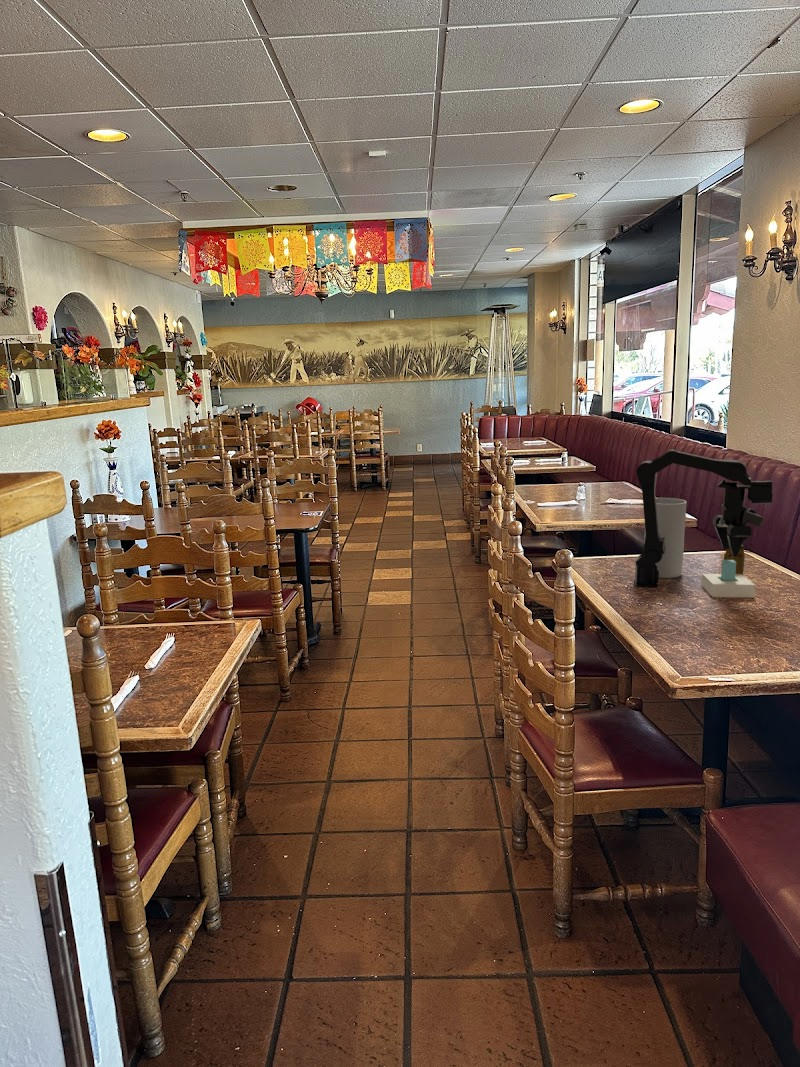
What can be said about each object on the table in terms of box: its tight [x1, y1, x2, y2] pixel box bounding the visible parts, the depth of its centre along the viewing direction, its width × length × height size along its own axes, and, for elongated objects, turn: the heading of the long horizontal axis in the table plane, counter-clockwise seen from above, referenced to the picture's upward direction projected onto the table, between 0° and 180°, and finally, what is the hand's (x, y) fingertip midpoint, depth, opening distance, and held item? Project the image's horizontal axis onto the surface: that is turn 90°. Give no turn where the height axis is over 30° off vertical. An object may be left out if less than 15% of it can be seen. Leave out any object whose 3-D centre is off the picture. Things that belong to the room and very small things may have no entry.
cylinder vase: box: [643, 497, 687, 579], centre depth 245 cm, size 12×12×25 cm
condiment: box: [723, 544, 754, 583], centre depth 236 cm, size 7×8×12 cm
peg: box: [720, 559, 736, 581], centre depth 225 cm, size 3×3×9 cm
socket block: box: [701, 573, 756, 599], centre depth 226 cm, size 12×12×4 cm
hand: (730, 552), depth 224 cm, fingers open, 9 cm apart
